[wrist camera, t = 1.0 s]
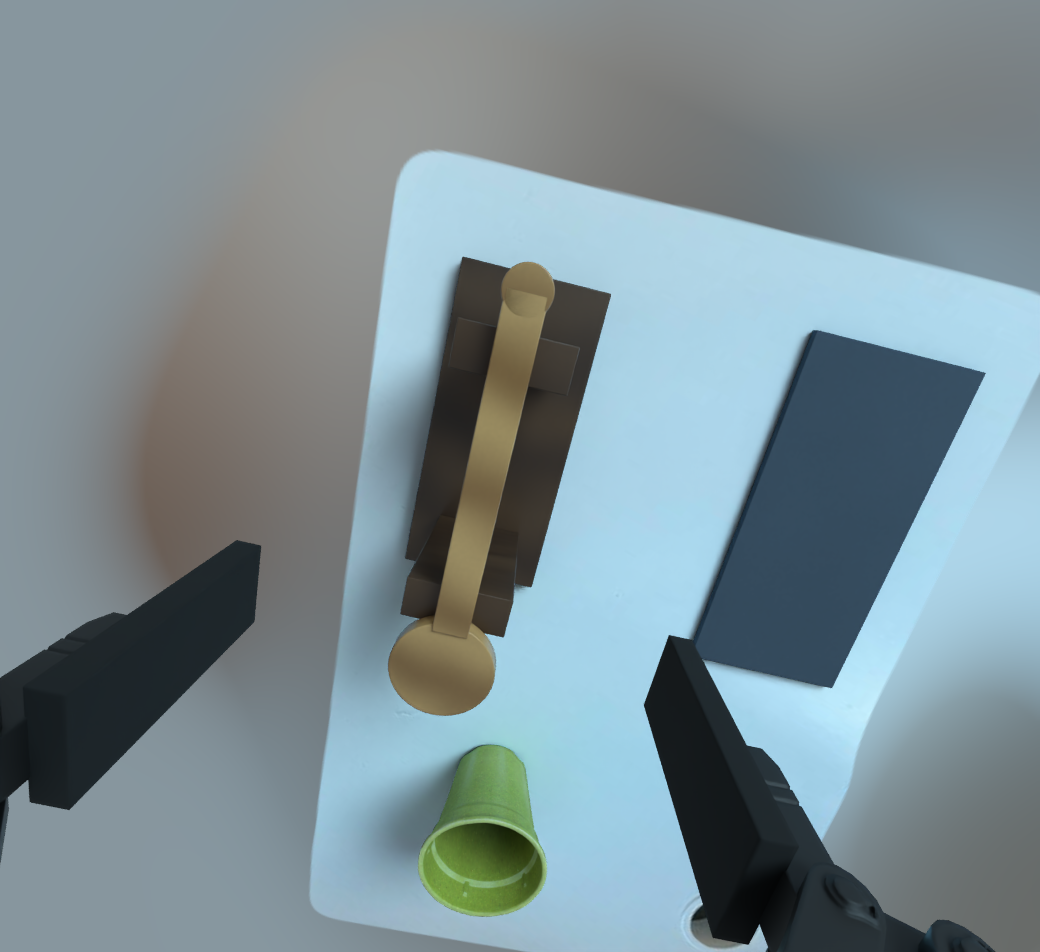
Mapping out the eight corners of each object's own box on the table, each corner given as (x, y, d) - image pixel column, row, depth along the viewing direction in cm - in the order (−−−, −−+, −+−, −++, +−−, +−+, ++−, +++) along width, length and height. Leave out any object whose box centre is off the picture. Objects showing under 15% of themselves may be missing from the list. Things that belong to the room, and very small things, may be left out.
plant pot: (441, 722, 43) (419, 815, 35) (549, 732, 43) (553, 827, 35) (437, 806, 46) (415, 911, 37) (539, 815, 45) (540, 922, 37)
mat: (812, 330, 33) (817, 330, 33) (978, 372, 34) (986, 373, 33) (688, 652, 40) (691, 656, 40) (827, 683, 41) (832, 688, 40)
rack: (464, 258, 33) (431, 220, 22) (609, 295, 33) (644, 274, 23) (408, 553, 39) (360, 634, 28) (531, 581, 39) (530, 671, 29)
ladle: (470, 250, 23) (467, 245, 21) (597, 282, 23) (600, 279, 22) (385, 691, 29) (378, 706, 28) (483, 713, 29) (481, 728, 28)
